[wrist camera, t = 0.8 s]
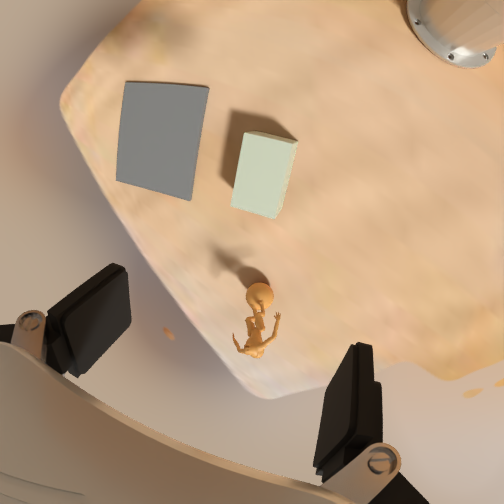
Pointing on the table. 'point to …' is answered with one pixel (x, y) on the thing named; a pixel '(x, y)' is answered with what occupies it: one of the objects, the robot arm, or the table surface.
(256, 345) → the figurine
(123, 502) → the robot arm
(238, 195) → the card box
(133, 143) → the mat
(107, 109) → the table surface
